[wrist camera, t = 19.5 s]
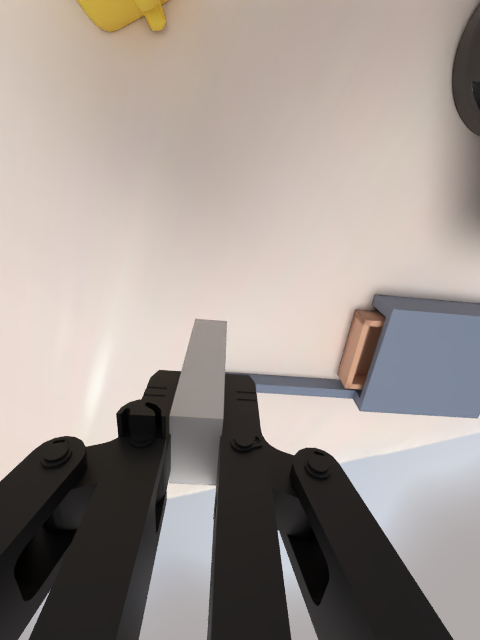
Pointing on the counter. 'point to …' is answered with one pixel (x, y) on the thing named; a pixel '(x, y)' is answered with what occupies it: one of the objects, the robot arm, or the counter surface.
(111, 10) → the teapot
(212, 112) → the counter surface
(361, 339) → the dish
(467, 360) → the blue-grey box with strip
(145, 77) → the counter surface
